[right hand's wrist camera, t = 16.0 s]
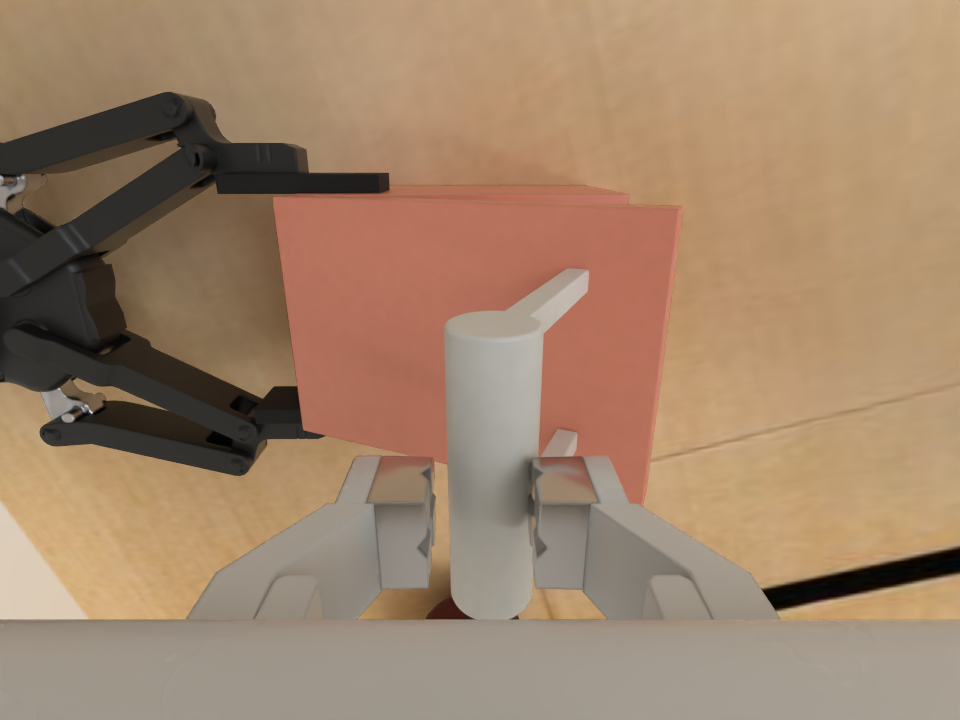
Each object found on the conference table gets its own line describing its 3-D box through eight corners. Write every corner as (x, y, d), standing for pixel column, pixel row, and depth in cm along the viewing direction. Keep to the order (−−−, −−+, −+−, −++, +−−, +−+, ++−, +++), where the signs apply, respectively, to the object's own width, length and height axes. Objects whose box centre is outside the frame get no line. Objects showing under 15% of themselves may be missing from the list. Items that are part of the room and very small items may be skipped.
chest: (586, 185, 29) (629, 194, 20) (575, 352, 32) (608, 417, 24) (342, 185, 29) (288, 194, 20) (356, 353, 32) (315, 418, 24)
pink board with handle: (683, 205, 15) (644, 249, 7) (646, 491, 18) (593, 723, 11) (293, 194, 20) (37, 213, 13) (320, 418, 24) (131, 540, 16)
